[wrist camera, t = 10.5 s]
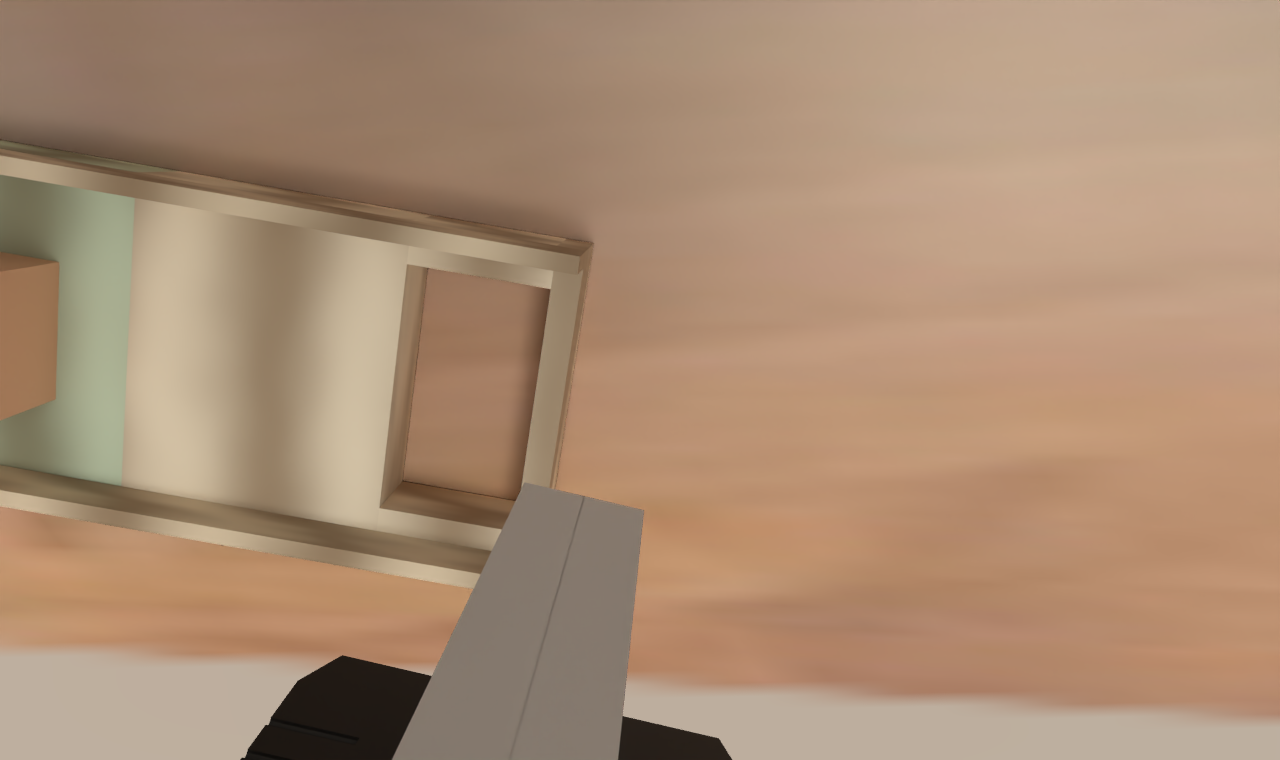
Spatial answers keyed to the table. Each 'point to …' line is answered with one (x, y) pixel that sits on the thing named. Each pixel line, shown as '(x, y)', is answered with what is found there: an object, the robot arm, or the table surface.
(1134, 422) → the table surface
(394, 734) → the robot arm
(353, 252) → the beige open frame
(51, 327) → the block
